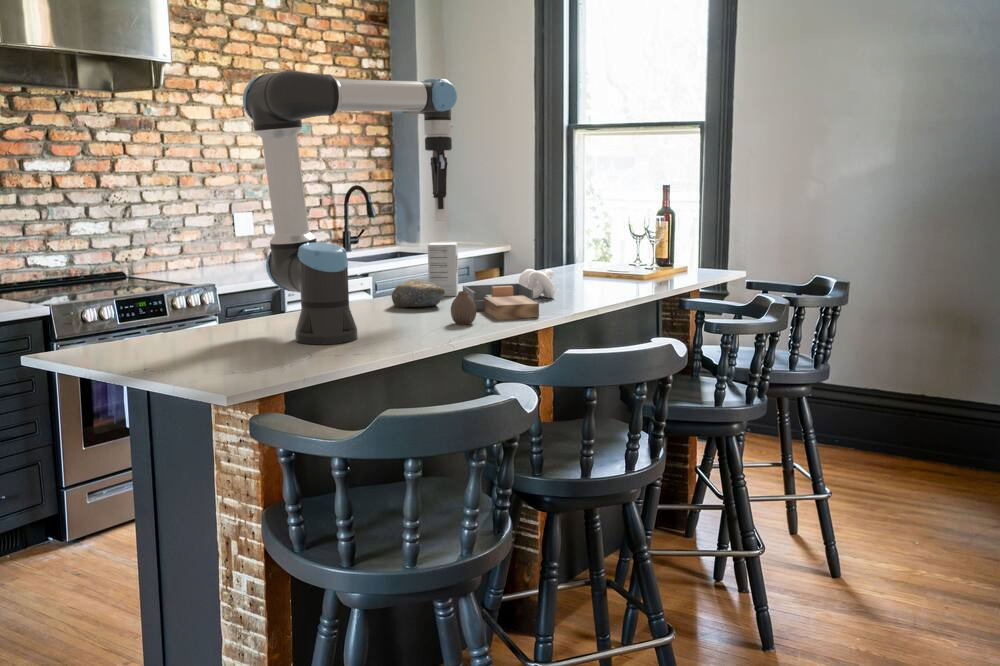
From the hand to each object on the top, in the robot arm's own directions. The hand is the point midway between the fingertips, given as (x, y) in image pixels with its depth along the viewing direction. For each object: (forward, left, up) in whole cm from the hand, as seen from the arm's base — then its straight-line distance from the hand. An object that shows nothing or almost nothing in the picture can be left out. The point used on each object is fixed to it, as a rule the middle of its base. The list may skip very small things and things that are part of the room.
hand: (440, 220), depth 261 cm
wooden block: (+18, -10, -26) cm, 33 cm away
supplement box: (+7, +35, -27) cm, 45 cm away
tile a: (+18, 0, -23) cm, 29 cm away
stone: (-5, +12, -27) cm, 30 cm away
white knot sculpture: (+35, +18, -27) cm, 48 cm away
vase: (+2, -21, -27) cm, 34 cm away
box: (+18, +6, -26) cm, 33 cm away
